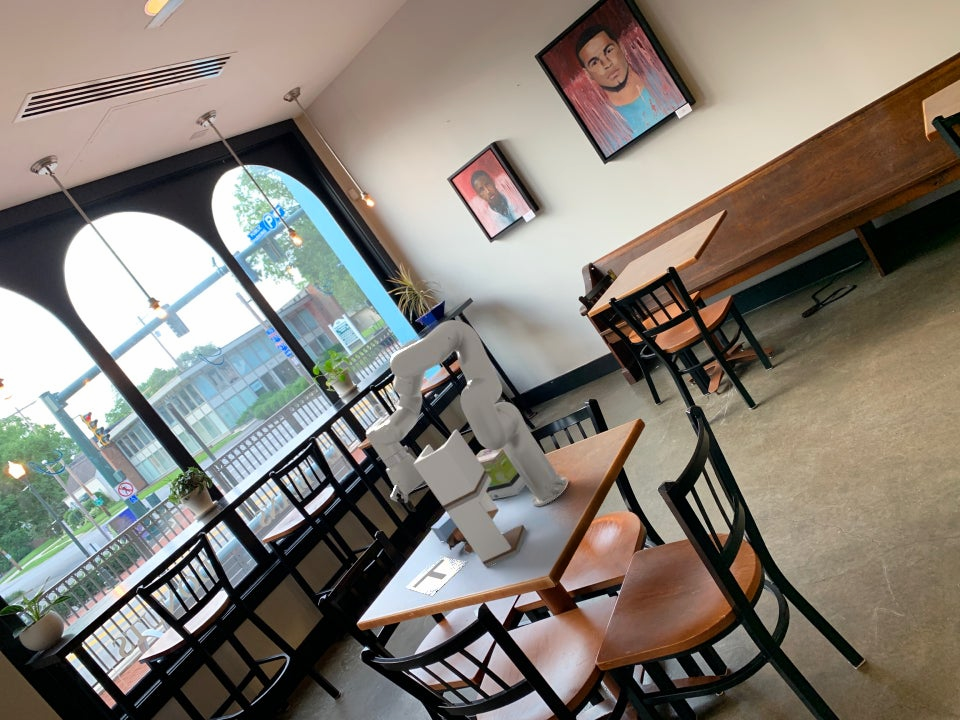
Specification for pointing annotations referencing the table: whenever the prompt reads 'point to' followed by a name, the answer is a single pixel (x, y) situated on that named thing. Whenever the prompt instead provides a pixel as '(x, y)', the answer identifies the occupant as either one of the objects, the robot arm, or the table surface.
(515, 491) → the tea box
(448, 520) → the slate blue cube
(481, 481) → the notched white pillar
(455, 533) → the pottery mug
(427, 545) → the table surface
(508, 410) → the robot arm
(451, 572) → the letter mat
